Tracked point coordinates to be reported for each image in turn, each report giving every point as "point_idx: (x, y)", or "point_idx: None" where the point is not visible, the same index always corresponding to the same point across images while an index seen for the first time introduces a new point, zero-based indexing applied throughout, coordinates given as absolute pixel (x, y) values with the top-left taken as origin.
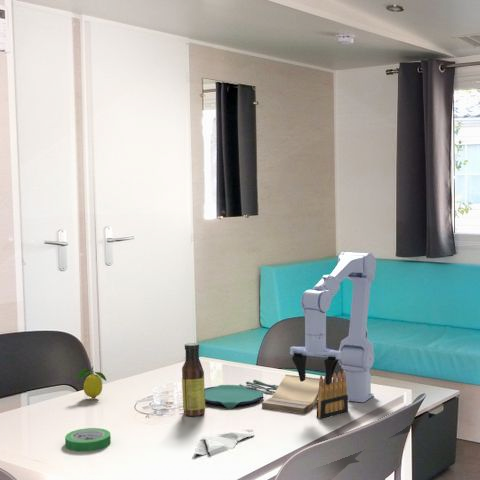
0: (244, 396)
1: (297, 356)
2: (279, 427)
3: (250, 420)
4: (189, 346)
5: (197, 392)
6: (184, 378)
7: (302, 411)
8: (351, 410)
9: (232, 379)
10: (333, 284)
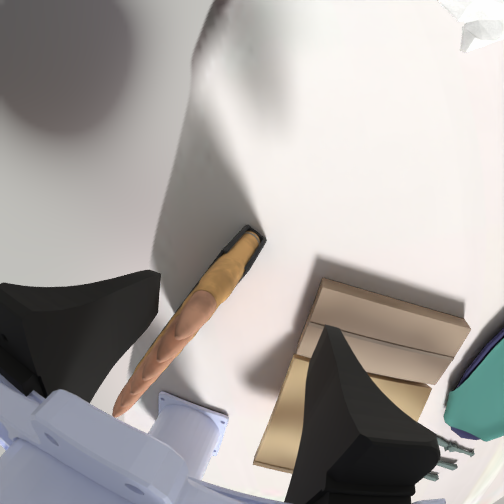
0: (493, 388)
1: (373, 488)
2: (389, 88)
3: (496, 166)
4: None
5: None
6: None
7: (326, 282)
8: None
9: (470, 474)
10: None
